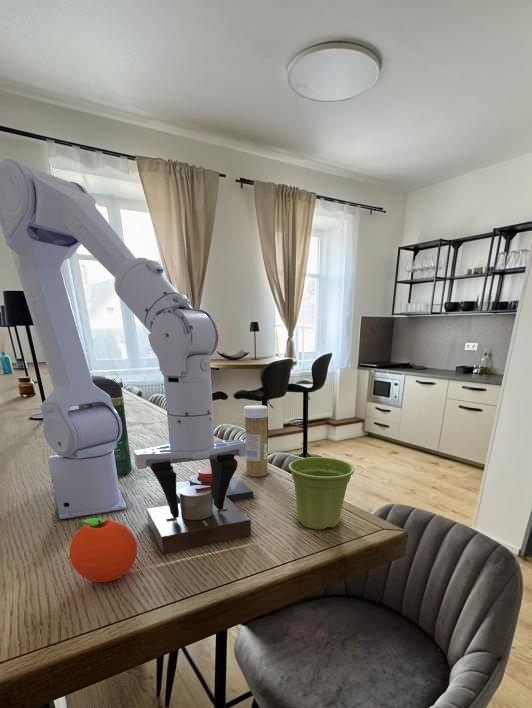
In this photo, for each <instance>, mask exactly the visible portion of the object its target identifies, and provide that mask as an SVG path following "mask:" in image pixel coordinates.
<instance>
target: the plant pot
mask: <svg viewBox="0 0 532 708" xmlns="http://www.w3.org/2000/svg"><path fill="white" fill-rule="evenodd" d="M288 470H289V471H290V472H291V479H292V480H293V485H294V493H295V504H296V505H295V506H296V513H297V515H296V516H297V521H298V522H299V523H300V524H301V525H302V526H304V527H306V528H307V529H308V528H309V529H312V530H325V529H327V528H336V527H337V526H338V524H339V522H340V519H341V514H342V510H343V505H344V501H345V496H346V491H347V488H348V484H349V483H350V481H351V478H352V476H353V475H354V473H355V471H356V468H355V466H354V465H353V464H351V463H350V462H348V461H345V460H342V459H338V458H333V457H325V456H311V457H309V456H308V457H303V458H298V459H294V460H292V461H290V462H289V463H288Z"/></svg>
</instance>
